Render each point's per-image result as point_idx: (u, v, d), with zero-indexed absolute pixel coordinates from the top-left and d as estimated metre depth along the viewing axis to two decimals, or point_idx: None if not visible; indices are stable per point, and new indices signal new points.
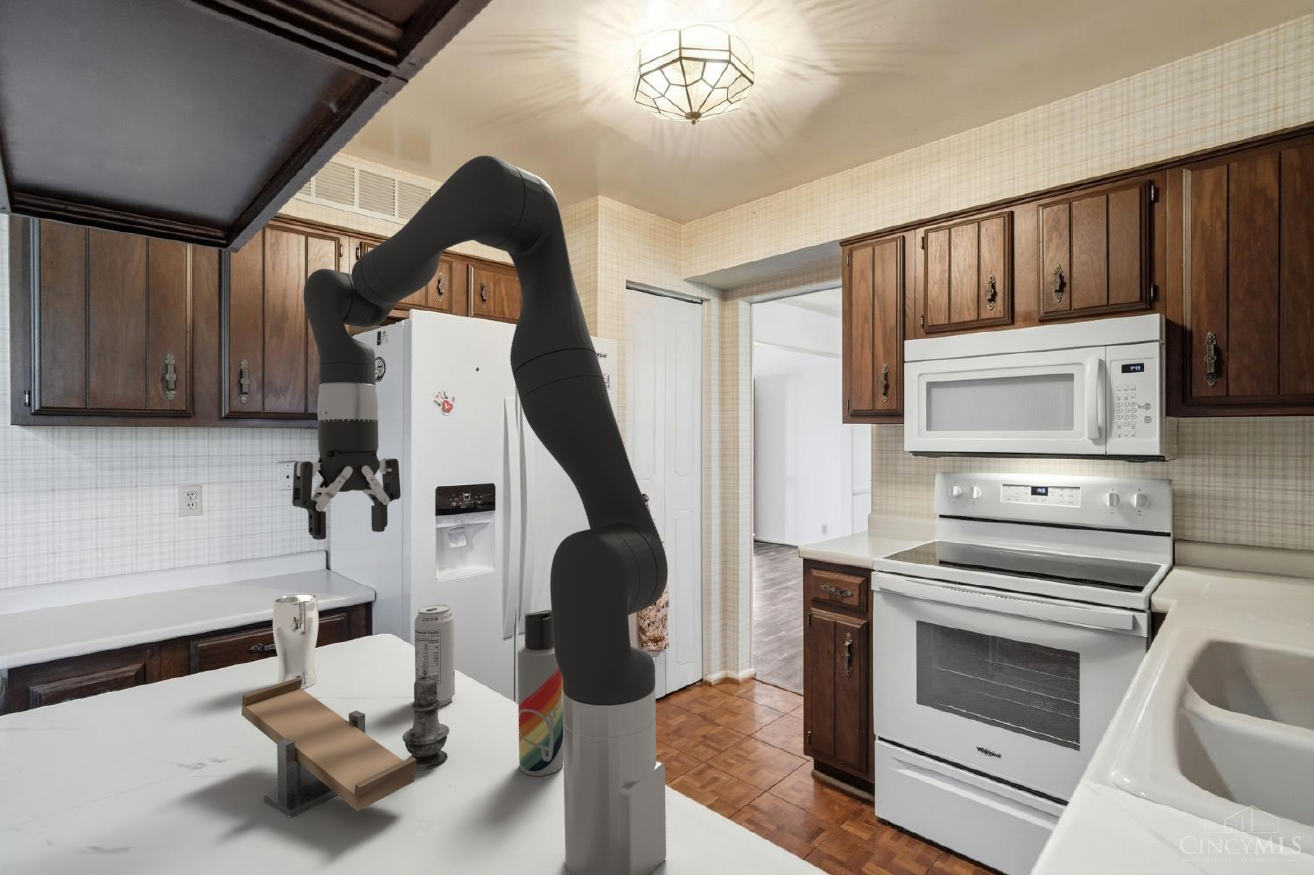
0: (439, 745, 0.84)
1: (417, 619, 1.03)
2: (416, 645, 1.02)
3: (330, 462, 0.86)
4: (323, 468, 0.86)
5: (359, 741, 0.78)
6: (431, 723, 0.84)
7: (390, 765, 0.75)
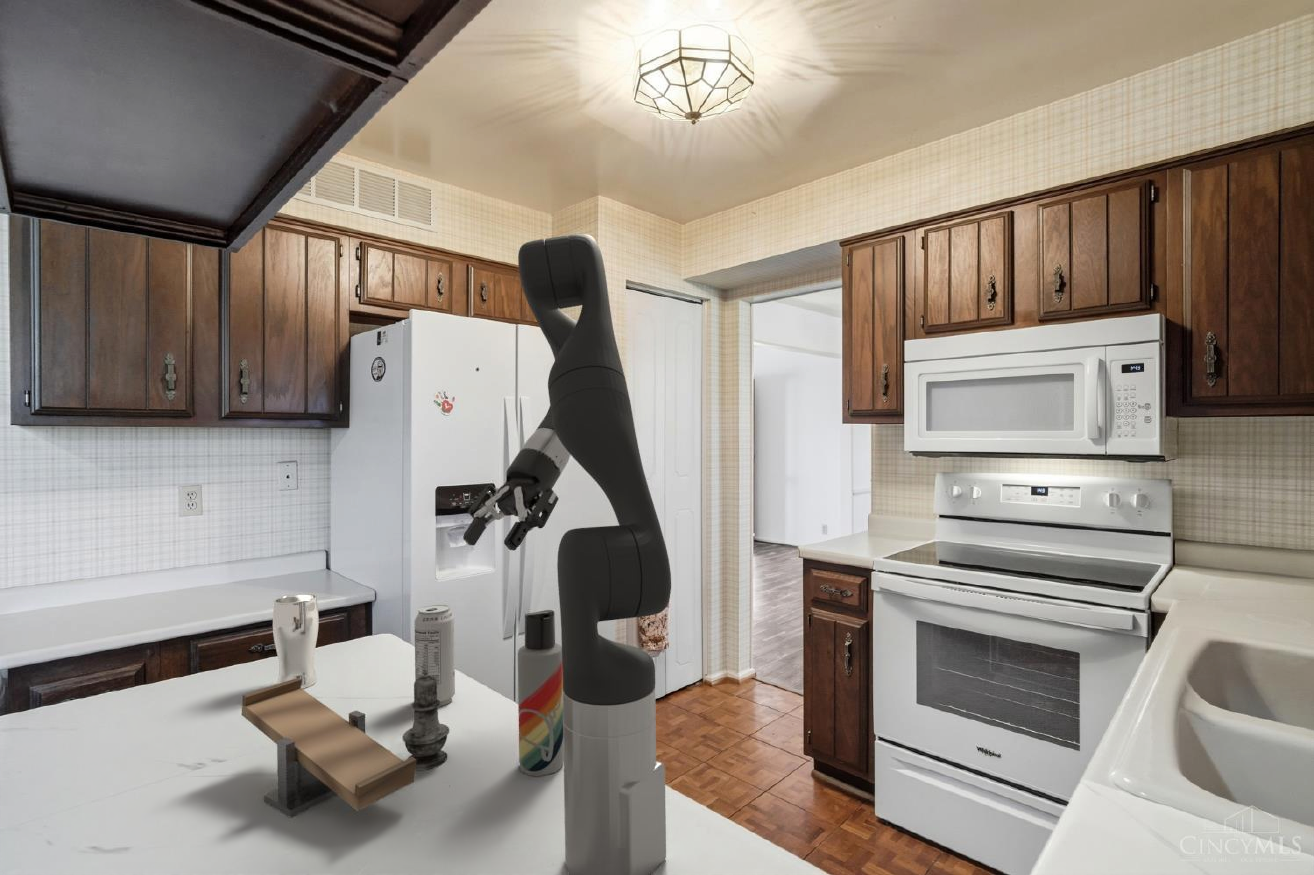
0: (439, 745, 0.84)
1: (417, 619, 1.03)
2: (416, 645, 1.02)
3: (503, 486, 1.02)
4: (497, 490, 1.02)
5: (359, 741, 0.78)
6: (431, 723, 0.84)
7: (390, 765, 0.75)
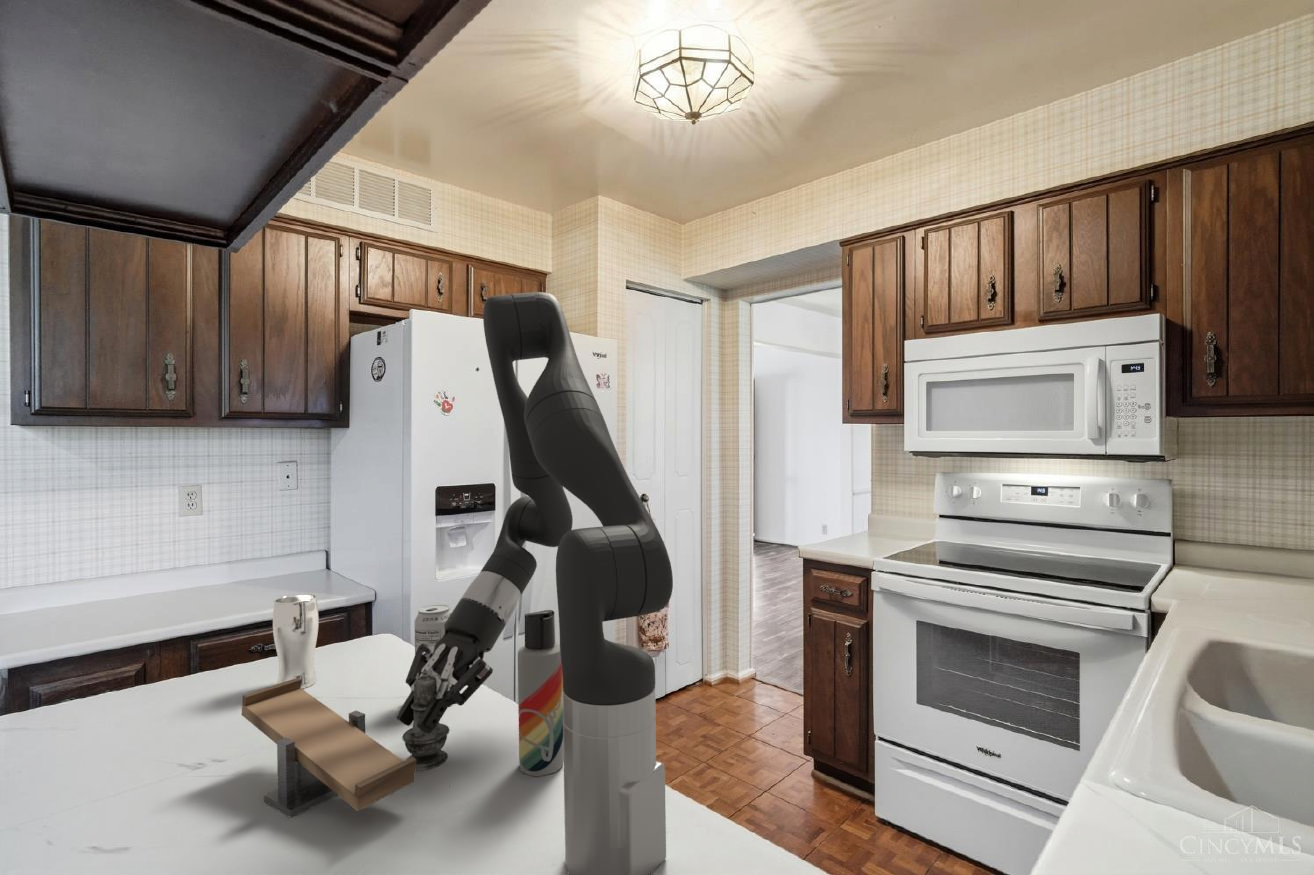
0: (439, 744, 0.84)
1: (417, 619, 1.03)
2: (416, 645, 1.02)
3: (439, 641, 0.91)
4: (434, 648, 0.91)
5: (359, 741, 0.78)
6: None
7: (390, 765, 0.75)
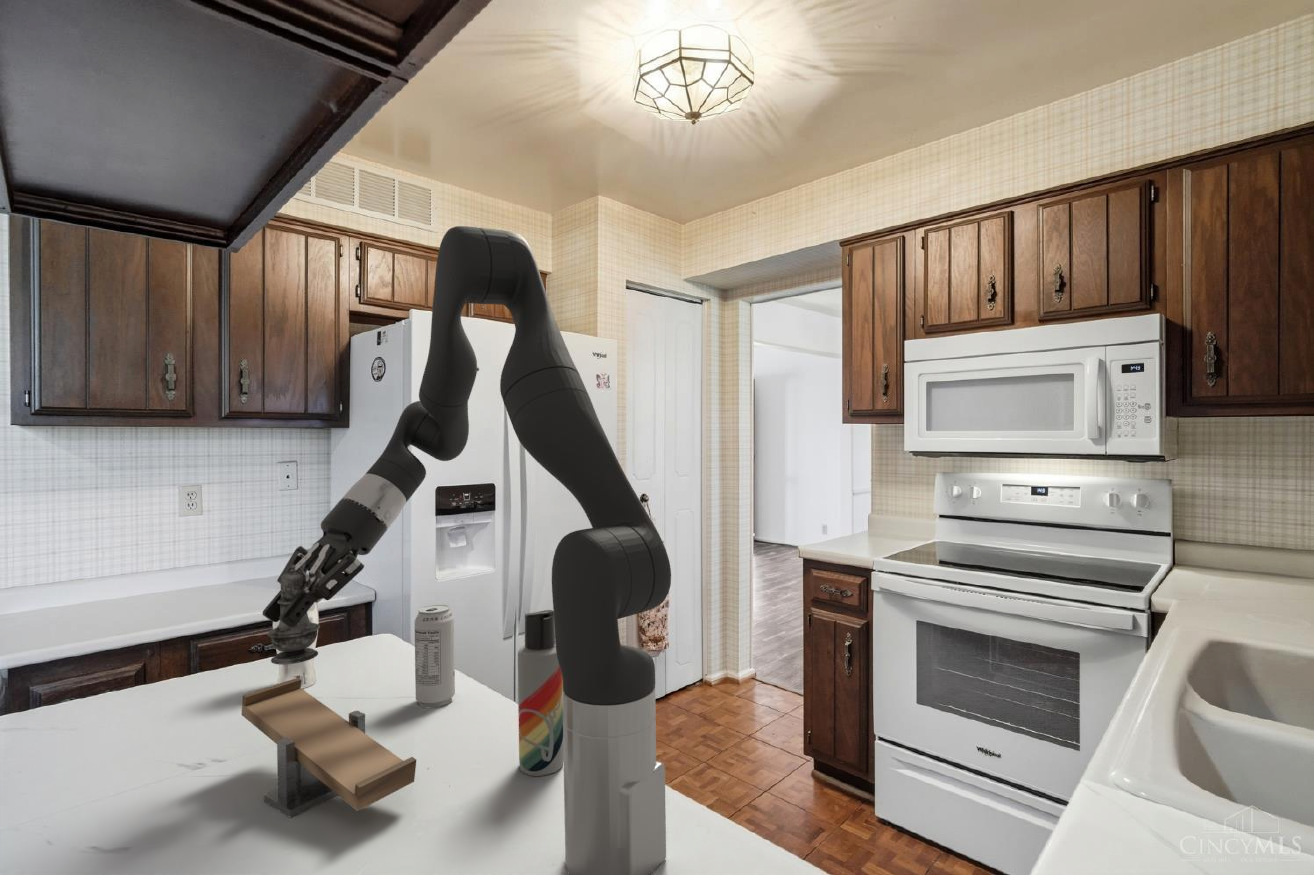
0: (306, 640, 0.82)
1: (417, 619, 1.03)
2: (416, 645, 1.02)
3: (316, 542, 0.89)
4: None
5: (359, 741, 0.78)
6: None
7: (390, 765, 0.75)
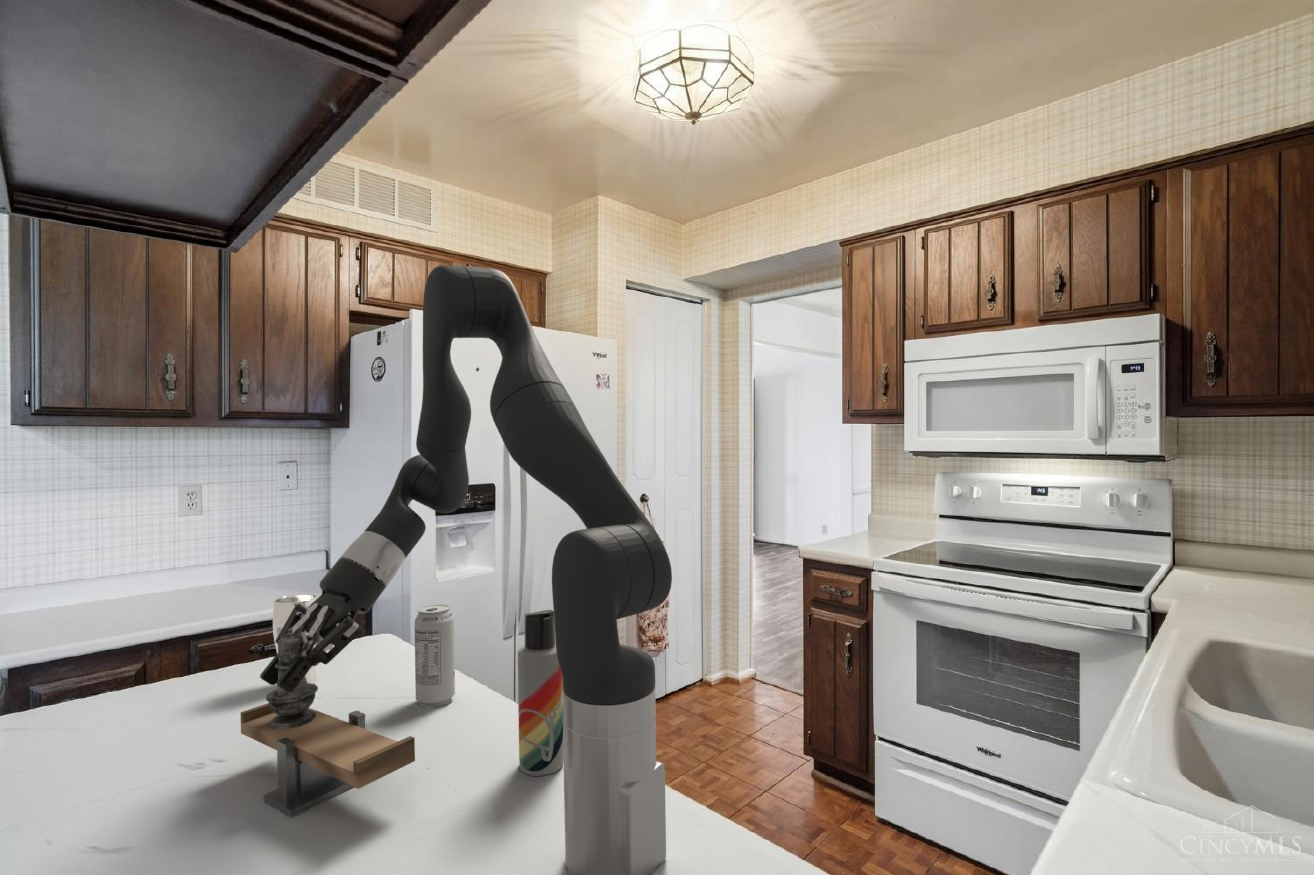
0: (304, 704, 0.82)
1: (417, 619, 1.03)
2: (416, 645, 1.02)
3: (315, 601, 0.89)
4: (309, 608, 0.89)
5: (357, 734, 0.79)
6: None
7: None
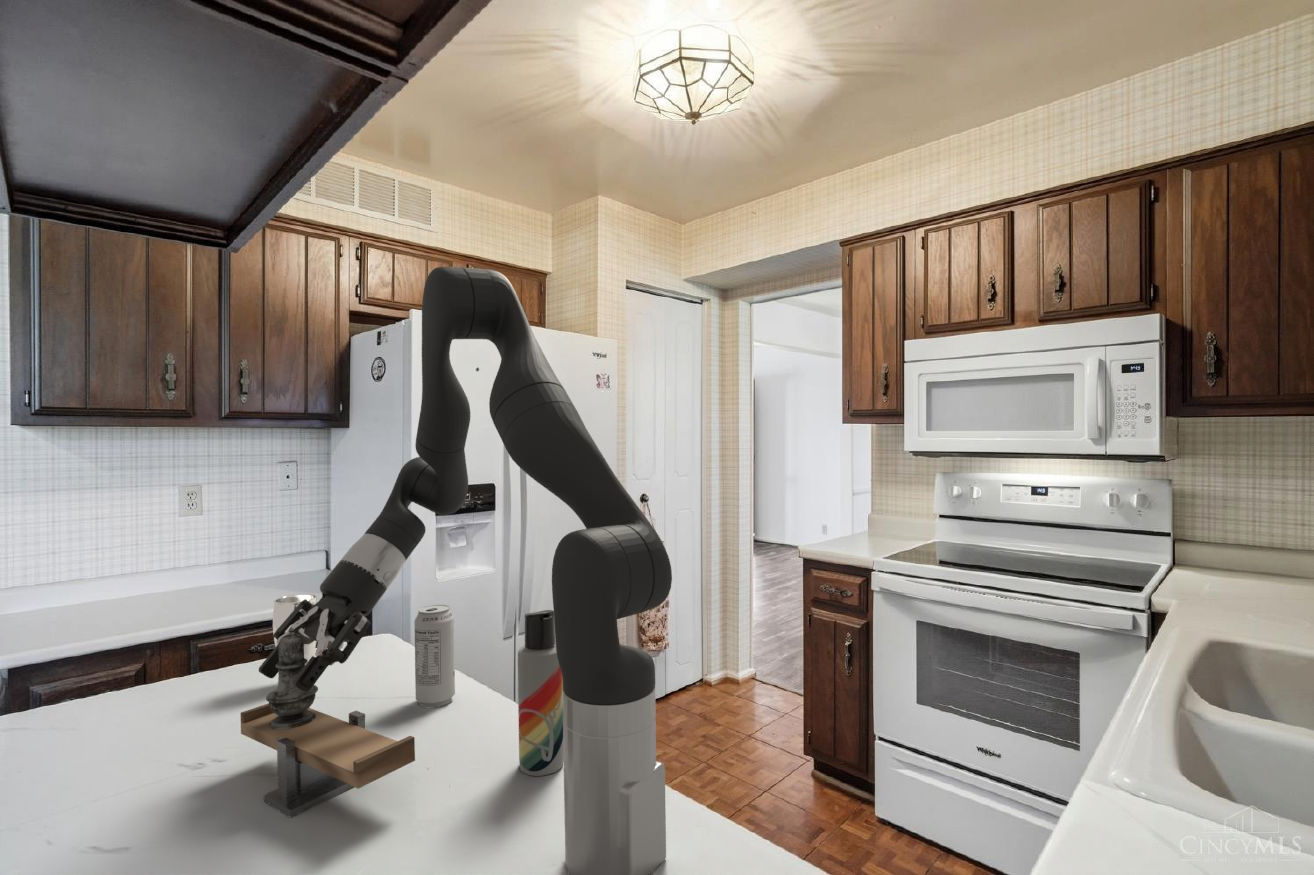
0: (304, 704, 0.82)
1: (417, 619, 1.03)
2: (416, 645, 1.02)
3: (316, 603, 0.89)
4: (311, 608, 0.89)
5: (357, 734, 0.79)
6: None
7: None
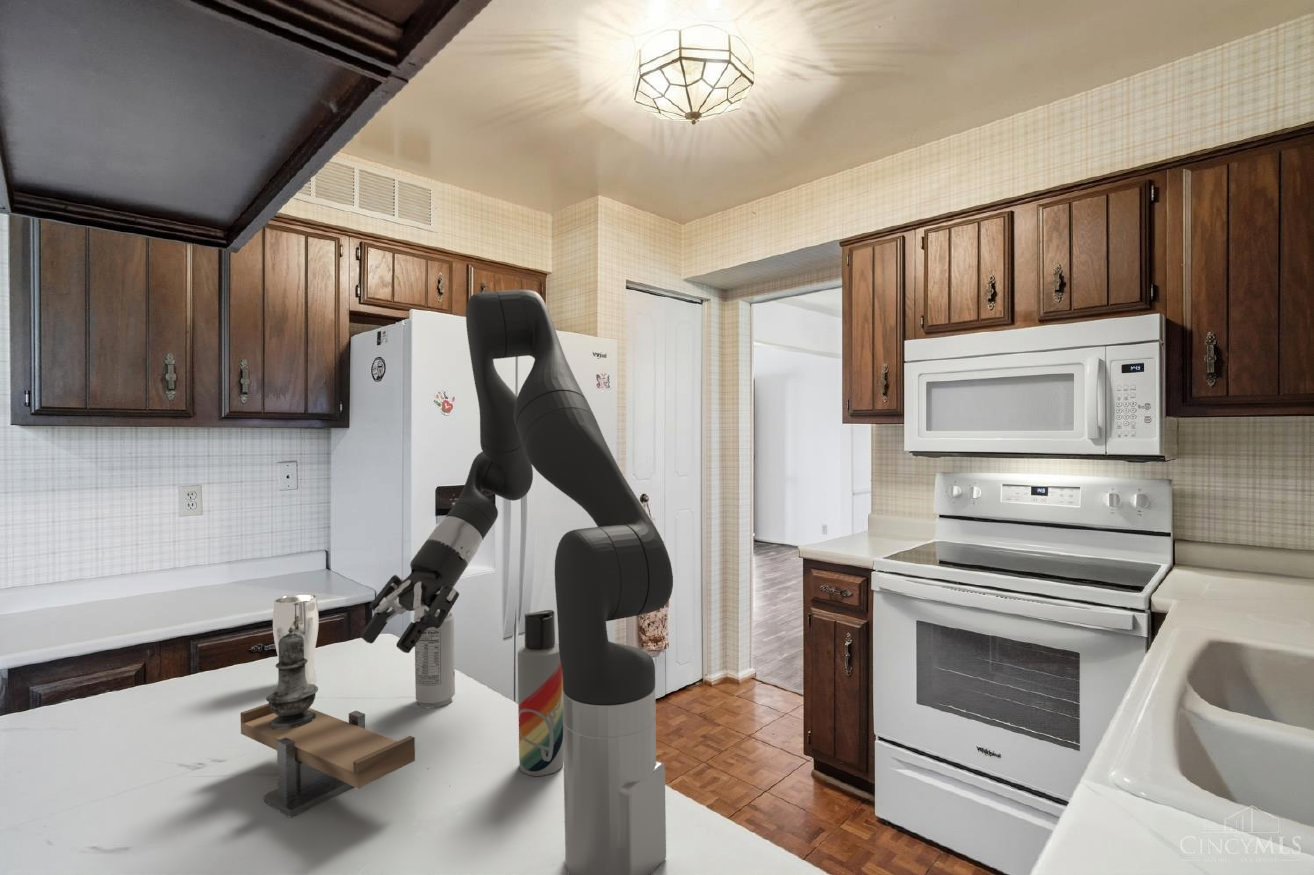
0: (304, 704, 0.82)
1: None
2: (416, 645, 1.02)
3: (407, 578, 0.99)
4: (401, 583, 1.00)
5: (357, 734, 0.79)
6: (295, 681, 0.82)
7: None
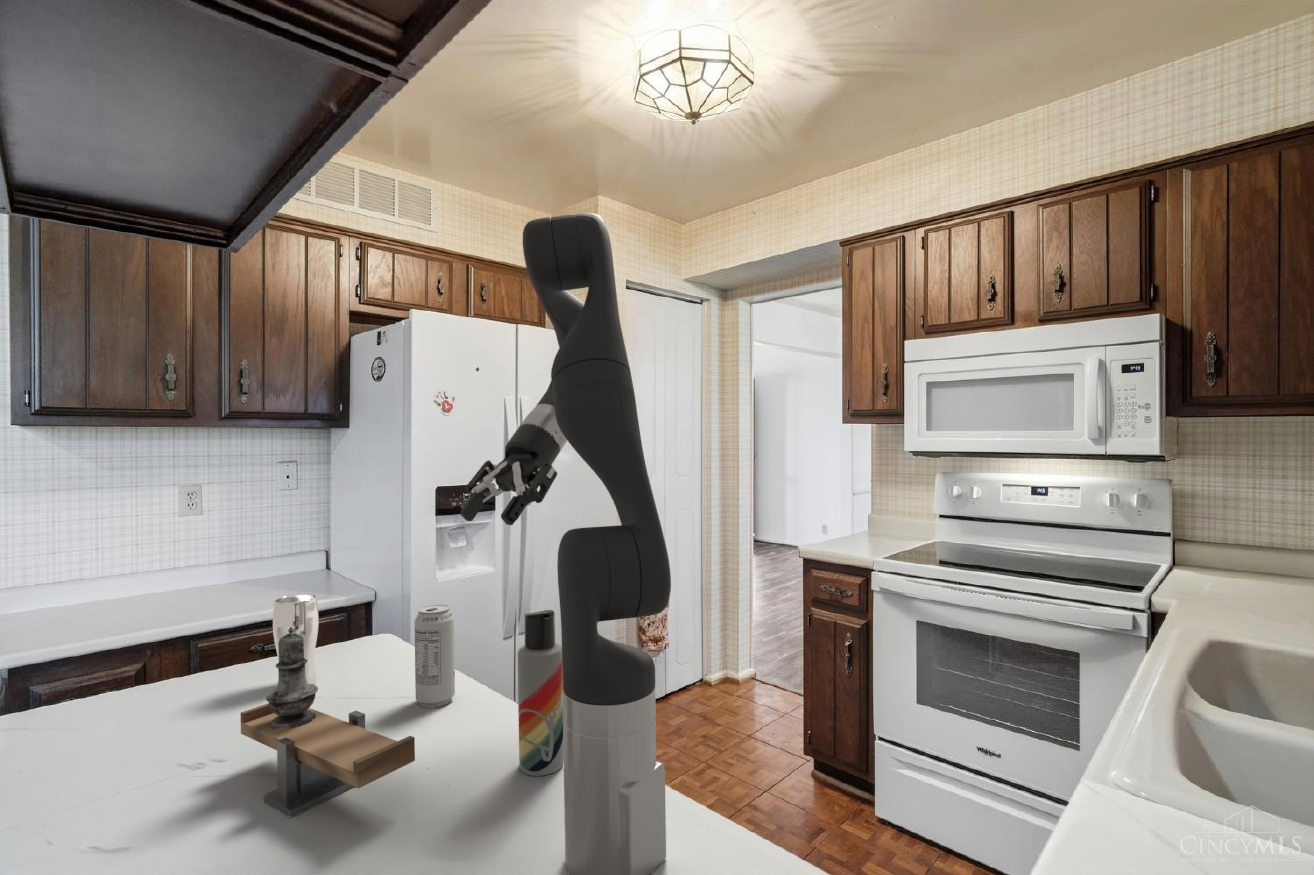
0: (304, 704, 0.82)
1: (417, 619, 1.03)
2: (416, 645, 1.02)
3: (501, 462, 1.00)
4: (496, 466, 1.00)
5: (357, 734, 0.79)
6: (295, 681, 0.82)
7: None
